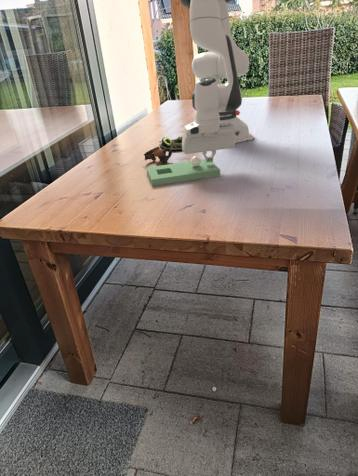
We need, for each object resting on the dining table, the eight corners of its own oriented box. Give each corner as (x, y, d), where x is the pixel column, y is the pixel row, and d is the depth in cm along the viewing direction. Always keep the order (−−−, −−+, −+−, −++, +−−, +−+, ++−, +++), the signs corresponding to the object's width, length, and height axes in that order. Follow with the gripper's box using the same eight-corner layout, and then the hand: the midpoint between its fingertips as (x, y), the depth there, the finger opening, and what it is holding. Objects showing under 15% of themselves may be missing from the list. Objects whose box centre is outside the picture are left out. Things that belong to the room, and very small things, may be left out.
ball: (199, 164, 148) (199, 154, 146) (202, 167, 144) (201, 157, 142) (189, 165, 147) (189, 155, 145) (192, 168, 144) (191, 158, 142)
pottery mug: (152, 171, 154) (143, 152, 153) (149, 174, 163) (140, 157, 162) (178, 158, 156) (168, 140, 155) (173, 161, 166) (164, 144, 165)
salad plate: (186, 138, 193) (186, 129, 190) (207, 144, 179) (207, 135, 177) (154, 146, 184) (153, 137, 182) (173, 154, 171) (172, 144, 168)
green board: (209, 164, 154) (209, 158, 153) (220, 175, 142) (219, 169, 141) (147, 173, 150) (146, 167, 149) (152, 186, 138) (151, 179, 137)
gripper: (231, 120, 143) (232, 155, 150) (179, 127, 140) (182, 162, 147) (237, 123, 138) (237, 160, 145) (183, 131, 135) (185, 168, 142)
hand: (209, 161), depth 146 cm, fingers closed
